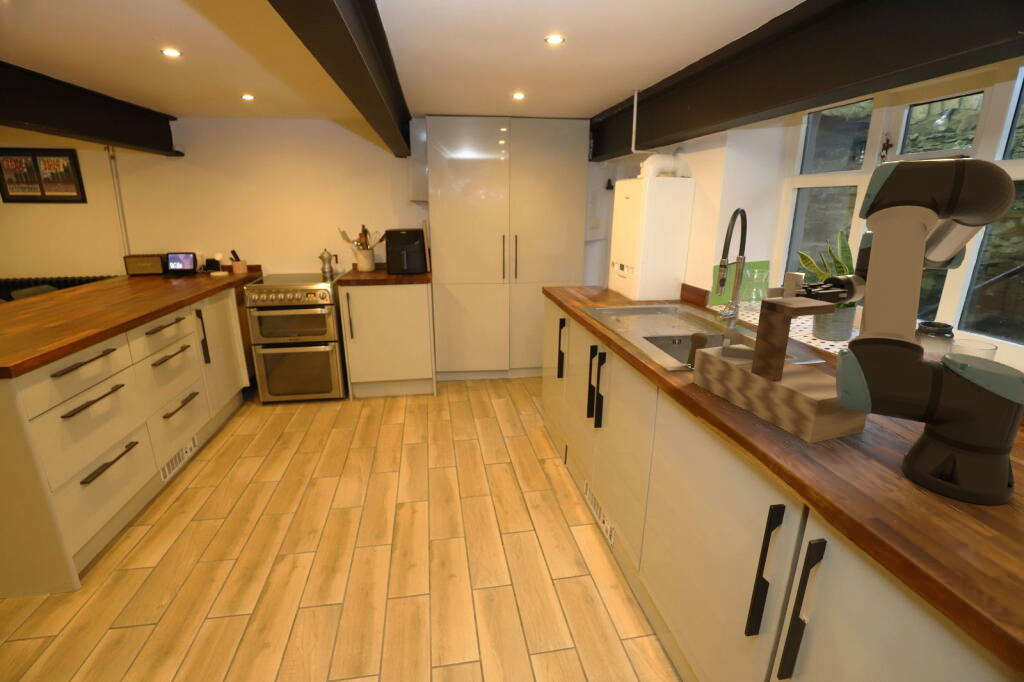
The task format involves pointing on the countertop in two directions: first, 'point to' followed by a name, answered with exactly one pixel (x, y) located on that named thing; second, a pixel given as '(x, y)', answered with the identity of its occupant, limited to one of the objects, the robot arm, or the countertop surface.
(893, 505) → the countertop surface
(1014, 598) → the countertop surface
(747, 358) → the v cradle
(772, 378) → the brown wooden l bracket
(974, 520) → the countertop surface
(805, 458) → the countertop surface
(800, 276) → the axle
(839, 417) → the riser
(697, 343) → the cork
